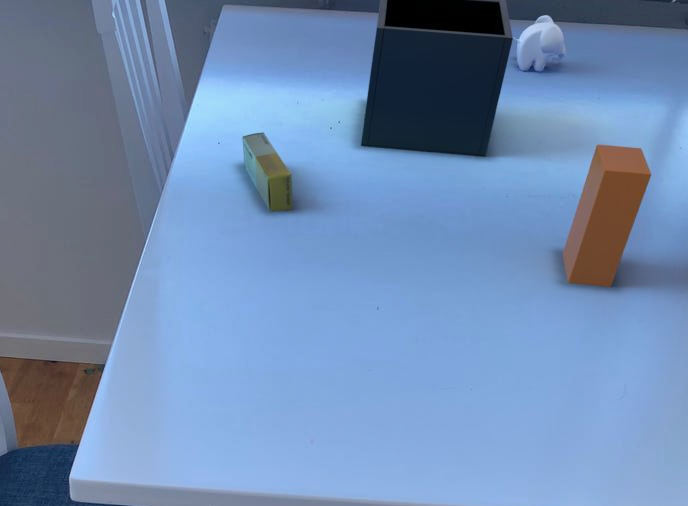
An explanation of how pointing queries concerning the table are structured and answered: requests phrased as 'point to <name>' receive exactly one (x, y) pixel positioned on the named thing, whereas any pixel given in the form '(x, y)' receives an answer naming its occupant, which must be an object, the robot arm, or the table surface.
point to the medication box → (268, 172)
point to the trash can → (436, 75)
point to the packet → (605, 214)
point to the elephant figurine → (540, 44)
